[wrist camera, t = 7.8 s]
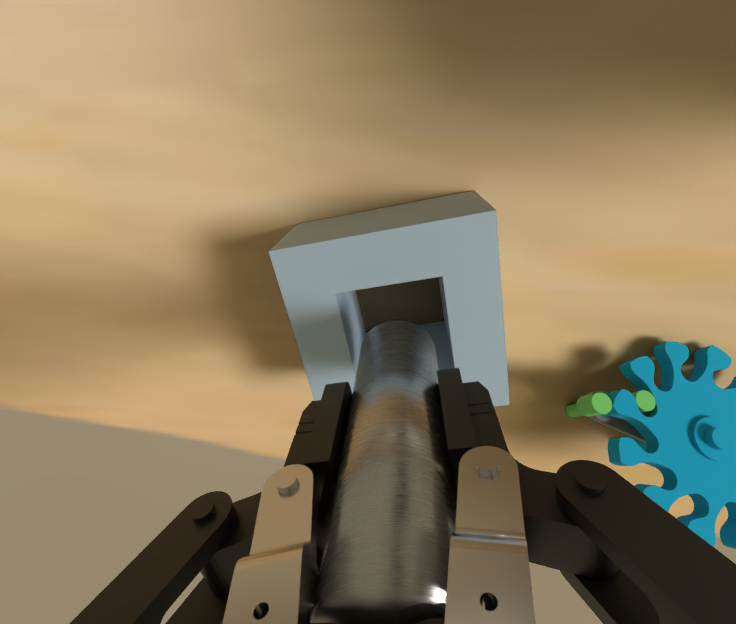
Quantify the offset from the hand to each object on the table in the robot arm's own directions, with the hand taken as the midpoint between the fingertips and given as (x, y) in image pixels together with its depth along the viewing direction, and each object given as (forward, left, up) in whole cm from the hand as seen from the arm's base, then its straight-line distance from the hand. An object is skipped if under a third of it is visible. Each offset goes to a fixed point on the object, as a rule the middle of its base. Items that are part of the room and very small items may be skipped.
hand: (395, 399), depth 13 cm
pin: (0, 0, -3) cm, 3 cm away
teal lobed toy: (+9, +13, -10) cm, 19 cm away
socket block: (0, 0, -10) cm, 10 cm away
